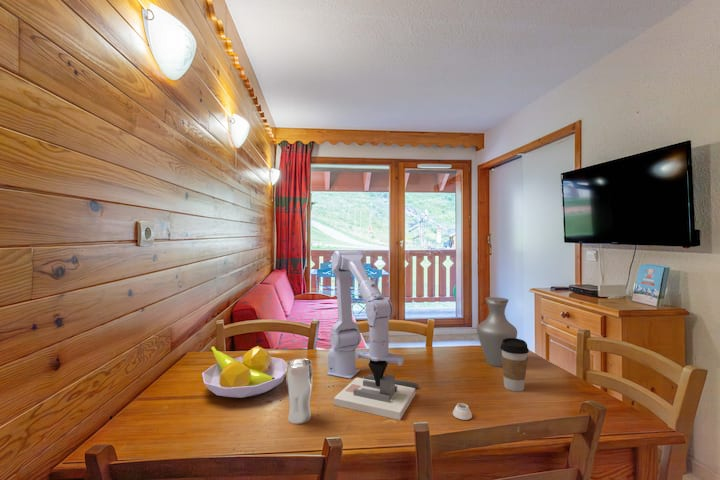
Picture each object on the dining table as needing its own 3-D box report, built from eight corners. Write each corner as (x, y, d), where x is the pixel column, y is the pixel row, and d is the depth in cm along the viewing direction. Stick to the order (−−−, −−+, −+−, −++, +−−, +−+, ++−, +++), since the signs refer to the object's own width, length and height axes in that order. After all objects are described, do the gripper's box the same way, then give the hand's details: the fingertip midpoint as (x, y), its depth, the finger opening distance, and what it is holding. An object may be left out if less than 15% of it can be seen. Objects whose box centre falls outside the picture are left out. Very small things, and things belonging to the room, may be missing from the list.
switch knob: (379, 397, 100) (379, 380, 99) (385, 390, 104) (385, 374, 104) (389, 399, 98) (389, 381, 98) (394, 392, 103) (394, 375, 103)
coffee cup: (528, 384, 113) (528, 339, 113) (528, 395, 106) (529, 347, 105) (500, 380, 117) (500, 336, 117) (499, 390, 109) (499, 343, 109)
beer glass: (317, 413, 94) (317, 359, 94) (304, 427, 88) (304, 369, 88) (294, 409, 97) (294, 356, 96) (281, 422, 90) (281, 365, 90)
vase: (482, 354, 142) (483, 294, 142) (520, 362, 133) (521, 298, 133) (471, 365, 130) (472, 299, 130) (512, 374, 122) (512, 304, 121)
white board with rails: (333, 404, 99) (333, 392, 99) (362, 377, 119) (362, 367, 119) (399, 420, 91) (399, 407, 91) (419, 387, 111) (419, 376, 111)
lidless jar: (459, 422, 90) (475, 419, 92) (459, 411, 90) (475, 408, 92) (449, 413, 95) (464, 410, 97) (449, 402, 95) (464, 400, 97)
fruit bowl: (305, 386, 112) (305, 351, 112) (224, 418, 92) (224, 376, 92) (259, 364, 131) (259, 334, 131) (184, 387, 111) (184, 352, 111)
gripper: (351, 340, 101) (351, 385, 101) (398, 346, 95) (398, 395, 96) (360, 334, 108) (360, 376, 108) (405, 339, 102) (405, 385, 102)
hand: (378, 385), depth 102 cm, fingers closed
